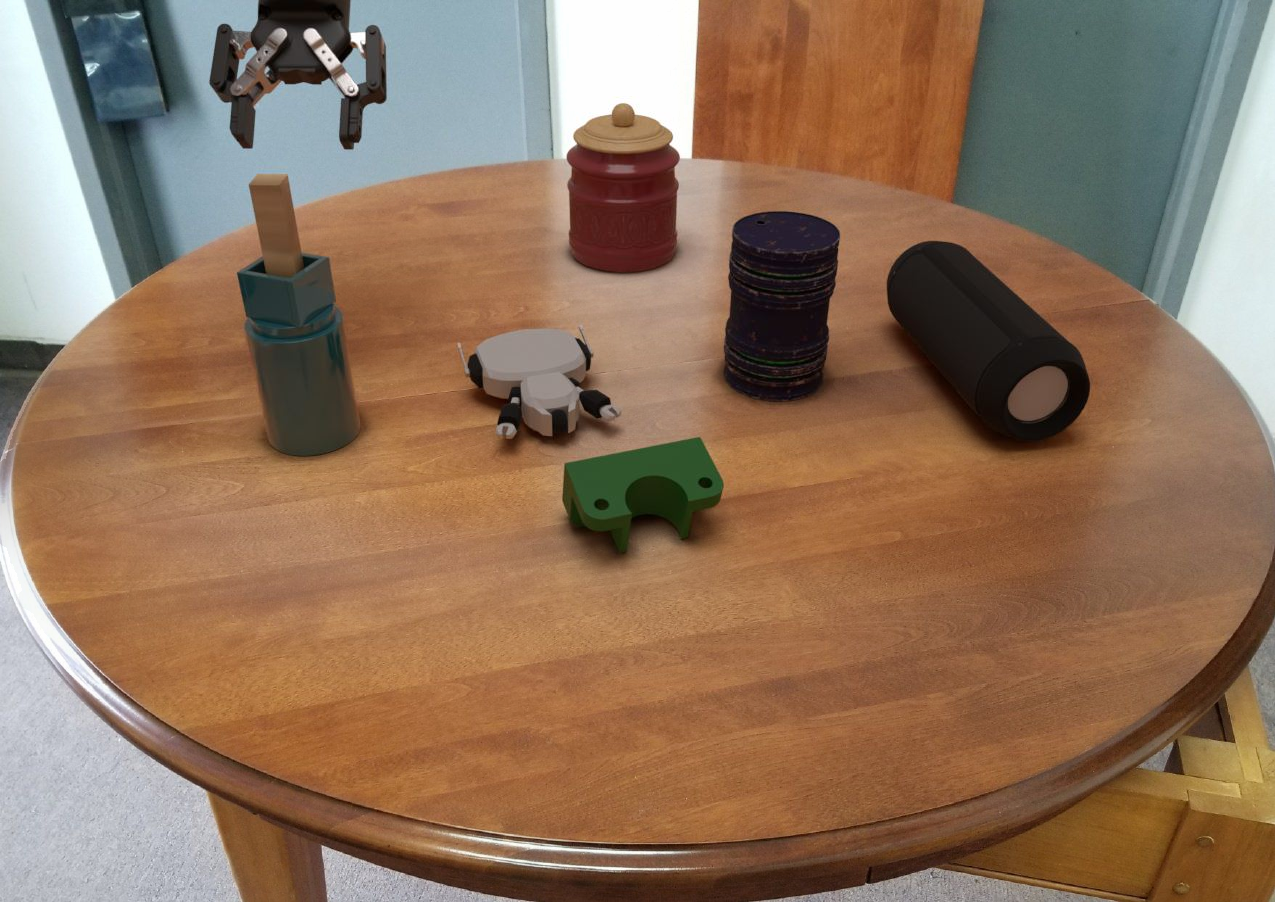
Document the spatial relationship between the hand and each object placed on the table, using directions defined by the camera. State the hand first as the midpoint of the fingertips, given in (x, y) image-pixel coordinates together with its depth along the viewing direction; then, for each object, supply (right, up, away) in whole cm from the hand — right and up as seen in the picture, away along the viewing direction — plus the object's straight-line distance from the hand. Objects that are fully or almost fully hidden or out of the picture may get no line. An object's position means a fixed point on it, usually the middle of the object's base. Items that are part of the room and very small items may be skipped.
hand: (295, 145), depth 90 cm
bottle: (0, -24, +6) cm, 25 cm away
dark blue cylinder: (+42, -18, +15) cm, 48 cm away
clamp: (+29, -32, -5) cm, 43 cm away
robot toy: (+20, -22, +10) cm, 31 cm away
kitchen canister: (+27, -2, +39) cm, 48 cm away
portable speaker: (+61, -19, +15) cm, 65 cm away
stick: (0, -14, -1) cm, 14 cm away
